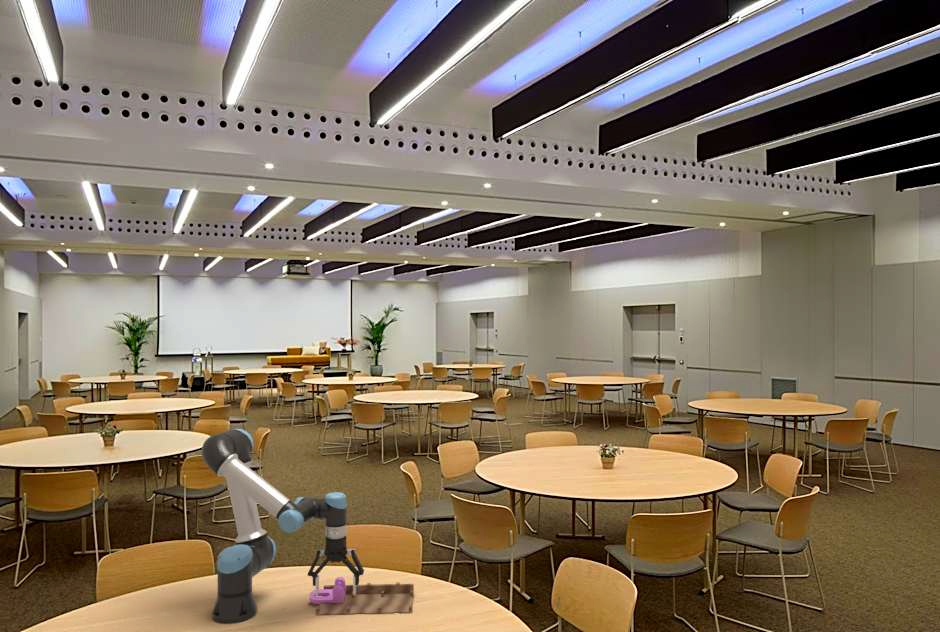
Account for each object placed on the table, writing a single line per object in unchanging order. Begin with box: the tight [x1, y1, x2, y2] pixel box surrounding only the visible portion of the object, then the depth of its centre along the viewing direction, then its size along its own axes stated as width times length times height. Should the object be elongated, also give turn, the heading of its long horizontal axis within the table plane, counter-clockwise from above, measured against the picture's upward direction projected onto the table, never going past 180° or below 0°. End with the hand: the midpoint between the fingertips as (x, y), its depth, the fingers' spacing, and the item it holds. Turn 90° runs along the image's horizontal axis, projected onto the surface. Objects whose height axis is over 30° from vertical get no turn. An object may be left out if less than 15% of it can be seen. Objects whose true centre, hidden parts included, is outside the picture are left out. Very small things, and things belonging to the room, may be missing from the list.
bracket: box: [308, 576, 346, 604], centre depth 243 cm, size 13×6×7 cm, turn 91°
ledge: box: [315, 581, 415, 617], centre depth 242 cm, size 34×17×5 cm, turn 92°
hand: (336, 594), depth 240 cm, fingers open, 13 cm apart
